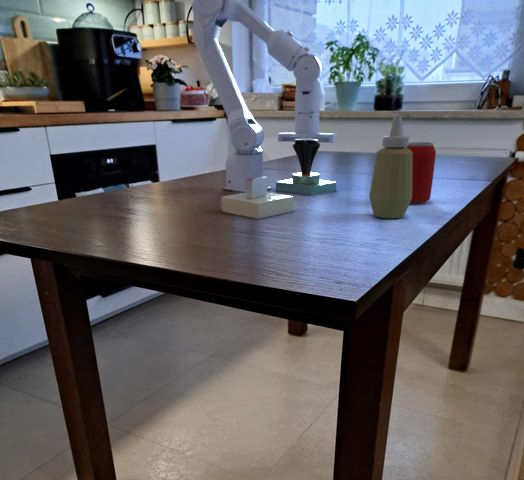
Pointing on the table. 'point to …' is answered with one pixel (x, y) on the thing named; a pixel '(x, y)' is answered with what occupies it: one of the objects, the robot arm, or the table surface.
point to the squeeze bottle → (392, 175)
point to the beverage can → (422, 170)
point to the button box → (306, 185)
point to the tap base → (257, 205)
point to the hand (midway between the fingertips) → (306, 173)
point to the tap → (256, 187)
